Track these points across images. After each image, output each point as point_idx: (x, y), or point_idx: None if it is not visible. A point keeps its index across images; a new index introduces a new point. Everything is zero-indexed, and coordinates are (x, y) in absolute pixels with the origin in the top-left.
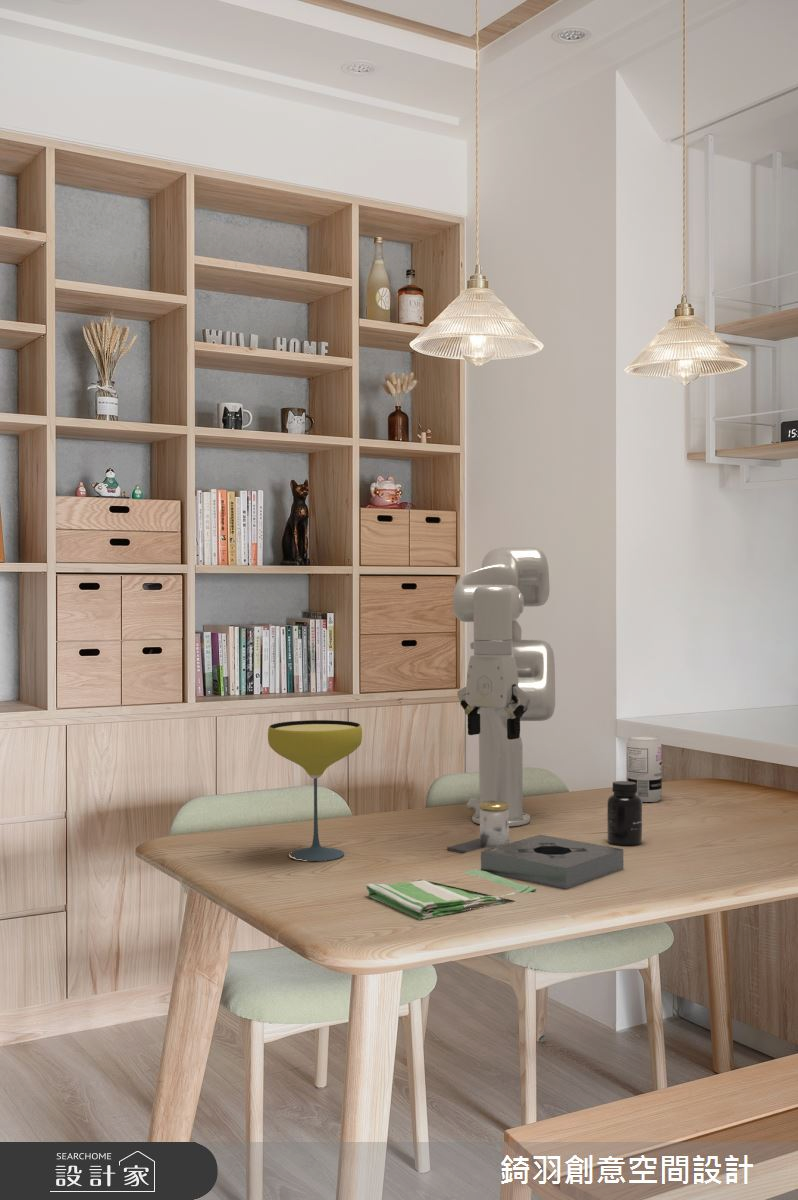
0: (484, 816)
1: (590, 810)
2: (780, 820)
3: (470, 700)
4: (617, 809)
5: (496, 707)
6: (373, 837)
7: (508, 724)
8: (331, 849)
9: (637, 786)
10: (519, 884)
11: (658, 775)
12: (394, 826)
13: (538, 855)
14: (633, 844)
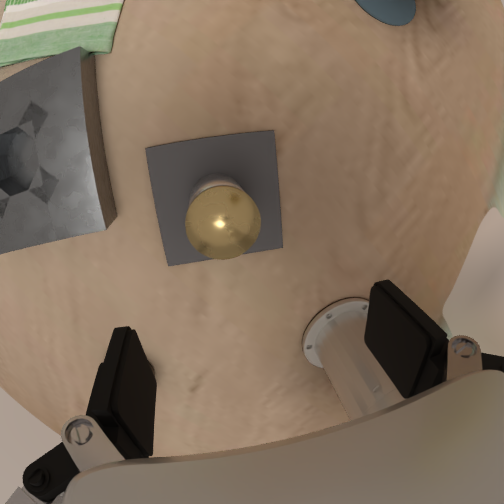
0: (219, 183)
1: (291, 427)
2: None
3: (489, 397)
4: None
5: (155, 460)
6: (414, 122)
7: (107, 381)
8: (381, 4)
9: None
10: (5, 59)
11: None
12: (433, 199)
13: (4, 118)
14: None
